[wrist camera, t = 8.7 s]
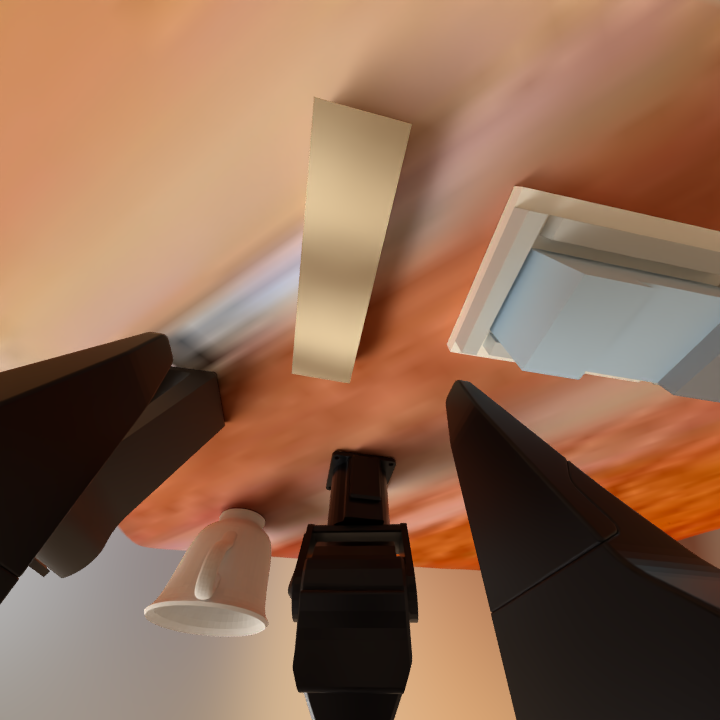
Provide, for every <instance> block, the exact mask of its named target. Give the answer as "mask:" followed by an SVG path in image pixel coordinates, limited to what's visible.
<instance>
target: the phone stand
mask: <svg viewBox="0 0 720 720" xmlns="http://www.w3.org/2000/svg"><path fill="white" fill-rule="evenodd" d="M224 426H225V422H224V416H223V411H222V405H221V399H220V393H219V387H218V382H217V376H216V373H215V372H209V371H201V370H194V369H186V368H179V367H172V366H171V367H170V368H169V370H168V372H167V374H166V375H165V377H164V379H163V381H162V382H161V384H160V386H159V387H158V389H157V391H156V393H155V394H154V396H153V398H152V399H151V401H150V403H149V404H148V406H147V407H146V409H145V410H144V411H143V413H142V414H141V416H140V417H139V418H138V420H137V421H136V422H135V424H134V425H133V426H132V428H131V429H130V430H129V432H128V433H127V434H126V436H125V437H124V438H123V440H122V441H121V442H120V444H119V445H118V446H117V448H116V449H115V450H114V452H113V453H112V455H111V456H110V457H109V459H108V460H107V461H106V463H105V464H104V465H103V467H102V468H101V469H100V471H99V472H98V473H97V475H96V476H95V477H94V479H93V480H92V481H91V483H90V484H89V485H88V487H87V488H86V489H85V491H84V492H83V493H82V495H81V496H80V497H79V499H78V500H77V502H76V503H75V504H74V506H73V507H72V508H71V510H70V511H69V512H68V514H67V515H66V516H65V518H64V519H63V520H62V522H61V523H60V524H59V526H58V527H57V528H56V530H55V531H54V532H53V534H52V535H51V536H50V538H49V539H48V540H47V542H46V543H45V544H44V546H43V547H42V549H41V550H40V551H39V553H38V554H37V555H36V557H35V558H34V559H33V561H32V562H31V563H30V565H29V567H31V568H32V569H34V570H35V571H36V572H38V573H39V574H40V575H42V576H43V577H44V576H45V575H46V574H48V572H50V571H49V570H48V569H47V567H48V568H49V569H51V570H52V571H53V572H54V573H56V574H57V575H58V576H60V577H61V578H64V577H67V576H70V575H72V574H74V573H76V572H78V571H80V570H81V569H83V568H84V567H86V566H87V565H88V564H89V563H91V562H92V561H93V560H94V559H95V558H96V557H97V556H98V555H99V553H100V552H101V551H102V549H103V548H104V546H105V544H106V542H107V540H108V539H109V537H110V535H111V534H112V532H113V531H114V530H115V528H116V527H117V526H118V525H119V523H120V522H121V521H122V520H123V519H124V518H125V517H126V516H127V515H128V514H129V513H130V512H131V511H133V510H134V509H135V508H136V507H137V506H138V505H139V504H140V503H141V502H142V501H143V500H145V499H146V498H147V497H148V496H149V495H150V494H151V493H152V492H153V491H154V490H155V489H157V488H158V487H159V486H160V485H161V484H162V483H163V482H164V481H165V480H166V479H167V478H169V477H170V476H171V475H172V474H173V473H174V472H175V471H176V470H177V469H178V468H179V467H181V466H182V465H183V464H184V463H185V462H186V461H187V460H188V459H189V458H190V457H191V456H193V455H194V454H195V453H196V452H197V451H198V450H199V449H200V448H201V447H202V446H203V445H205V444H206V443H207V442H208V441H209V440H210V439H211V438H212V437H213V436H214V435H215V434H217V433H218V432H219V431H220V430H221V429H222V428H223V427H224ZM46 566H47V567H46Z"/></svg>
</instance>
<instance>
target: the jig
mask: <svg viewBox="0 0 720 720" xmlns="http://www.w3.org/2000/svg"><path fill="white" fill-rule="evenodd" d="M531 248H536V249H541V250H546V251H551V252H556V253H560V254H565V255H570V256H575V257H580V258H585V259H589V260H594V261H599V262H604V263H609V264H614V265H618V266H623V267H628V268H633V269H638V270H643V271H647V272H652V273H657V274H662V275H667V276H672V277H676V278H681V279H686V280H691V281H696V282H701V283H705V284H710V285H714V286H717V287H720V231H716V230H711V229H707V228H702V227H698V226H694V225H689V224H685V223H680V222H676V221H672V220H667V219H663V218H658V217H654V216H650V215H645V214H641V213H636V212H632V211H627V210H623V209H619V208H614V207H610V206H605V205H601V204H597V203H592V202H588V201H583V200H579V199H574V198H570V197H566V196H561V195H557V194H552V193H548V192H544V191H539V190H535V189H530V188H526V187H519V186H514V188H513V190H512V192H511V195H510V197H509V199H508V202H507V204H506V207H505V209H504V211H503V214H502V216H501V218H500V221H499V223H498V225H497V228H496V230H495V232H494V235H493V237H492V239H491V242H490V244H489V246H488V249H487V251H486V254H485V256H484V258H483V261H482V263H481V265H480V268H479V270H478V272H477V275H476V277H475V279H474V282H473V284H472V286H471V289H470V291H469V293H468V296H467V298H466V301H465V303H464V305H463V308H462V310H461V312H460V315H459V317H458V319H457V322H456V324H455V326H454V329H453V331H452V333H451V336H450V338H449V340H448V343H447V346H448V348H449V350H450V352H455V353H461V354H468V355H474V356H480V357H486V358H492V359H498V360H504V361H511V362H515V361H514V360H513V358H512V357H511V356H510V355H509V353H508V352H507V351H506V350H505V348H504V347H503V346H502V344H501V343H500V342H499V341H498V339H497V338H496V337H495V336H494V334H493V333H492V332H491V331H490V327H491V326H492V324H493V322H494V320H495V318H496V316H497V314H498V312H499V310H500V308H501V306H502V304H503V302H504V300H505V298H506V296H507V294H508V292H509V290H510V288H511V286H512V284H513V283H514V281H515V279H516V277H517V275H518V273H519V271H520V269H521V267H522V265H523V263H524V261H525V259H526V257H527V255H528V253H529V251H530V249H531ZM584 374H590V375H596V376H602V377H609V378H615V379H621V380H627V381H633V382H640V381H641V380H635V379H629V378H623V377H617V376H611V375H605V374H599V373H593V372H587V371H586V372H585V373H584ZM652 383H653V382H652ZM653 384H655V385H659V384H658V383H653Z"/></svg>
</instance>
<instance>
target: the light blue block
mask: <svg viewBox="0 0 720 720" xmlns="http://www.w3.org/2000/svg"><path fill="white" fill-rule="evenodd" d="M490 331H491V332H492V333H493V334H494V336H495V337H496V338H497V339H498V341H499V342H500V343H501V344H502V346H503V347H504V348H505V350H506V351H507V352H508V353H509V355H510V356H511V357H512V358H513V360H514V361H515V362H516V363H517V365H518V366H519V367H520V369H521V370H522V371H528V372H534V373H540V374H547V375H553V376H559V377H565V378H571V379H578V380H579V379H580V378H581V377H582V376H583V374H584V373H585V372H586V371H587V372H593V373H599V374H605V375H611V376H617V377H623V378H629V379H635V380H641V381H647V382H653V383H658V384H659V385H660V386H662V387H663V388H664V389H666V390H667V391H669V392H670V393H671V394H673V395H677V396H683V397H689V398H695V399H701V400H707V401H714V402H720V287H717V286H714V285H710V284H705V283H701V282H696V281H691V280H686V279H681V278H676V277H672V276H667V275H662V274H657V273H652V272H647V271H643V270H638V269H633V268H628V267H623V266H618V265H614V264H609V263H604V262H599V261H594V260H589V259H585V258H580V257H575V256H570V255H565V254H560V253H556V252H551V251H546V250H541V249H536V248H531V249H530V251H529V253H528V255H527V257H526V259H525V261H524V263H523V265H522V267H521V269H520V271H519V273H518V275H517V277H516V279H515V281H514V283H513V284H512V286H511V288H510V290H509V292H508V294H507V296H506V298H505V300H504V302H503V304H502V306H501V308H500V310H499V312H498V314H497V316H496V318H495V320H494V322H493V324H492V326H491V327H490Z"/></svg>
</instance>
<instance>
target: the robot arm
mask: <svg viewBox="0 0 720 720" xmlns="http://www.w3.org/2000/svg"><path fill="white" fill-rule="evenodd" d="M172 362H173V355H172V351H171V347H170V344H169V340H168V337H167V336H166V335H165V334H161V333H155V332H147V333H143V334H140V335H136V336H132V337H129V338H125V339H121V340H118V341H114V342H110V343H107V344H103V345H99V346H96V347H92V348H88V349H85V350H81V351H77V352H73V353H70V354H66V355H62V356H59V357H55V358H51V359H48V360H44V361H40V362H37V363H33V364H29V365H26V366H22V367H18V368H15V369H11V370H7V371H4V372H0V604H1V603H2V601H3V600H4V599H5V597H6V596H7V595H8V593H9V592H10V590H11V589H12V588H13V586H14V585H15V584H16V582H17V581H18V580H19V578H18V577H20V576H21V575H22V574H23V573H24V571H25V570H26V569H27V567H28V566H29V565H30V563H31V562H32V561H33V559H34V558H35V557H36V555H37V554H38V553H39V551H40V550H41V549H42V547H43V546H44V544H45V543H46V542H47V540H48V539H49V538H50V536H51V535H52V534H53V532H54V531H55V530H56V528H57V527H58V526H59V524H60V523H61V522H62V520H63V519H64V518H65V516H66V515H67V514H68V512H69V511H70V510H71V508H72V507H73V506H74V504H75V503H76V502H77V500H78V499H79V497H80V496H81V495H82V493H83V492H84V491H85V489H86V488H87V487H88V485H89V484H90V483H91V481H92V480H93V479H94V477H95V476H96V475H97V473H98V472H99V471H100V469H101V468H102V467H103V465H104V464H105V463H106V461H107V460H108V459H109V457H110V456H111V455H112V453H113V452H114V450H115V449H116V448H117V446H118V445H119V444H120V442H121V441H122V440H123V438H124V437H125V436H126V434H127V433H128V432H129V430H130V429H131V428H132V426H133V425H134V424H135V422H136V421H137V420H138V418H139V417H140V416H141V414H142V413H143V411H144V410H145V409H146V407H147V406H148V404H149V403H150V401H151V399H152V398H153V396H154V394H155V393H156V391H157V389H158V387H159V386H160V384H161V382H162V381H163V379H164V377H165V375H166V374H167V372H168V370H169V368H170V367H171V365H172ZM446 411H447V419H448V428H449V436H450V443H451V449H452V453H453V457H454V461H455V466H456V470H457V474H458V478H459V482H460V486H461V491H462V495H463V499H464V503H465V507H466V511H467V515H468V520H469V524H470V528H471V532H472V536H473V540H474V545H475V549H476V553H477V557H478V561H479V565H480V569H481V573H482V578H483V582H484V586H485V590H486V594H487V598H488V603H489V607H490V611H491V612H492V613H491V616H492V620H493V624H494V629H495V633H496V637H497V641H498V645H499V649H500V653H501V658H502V662H503V666H504V670H505V674H506V678H507V682H508V687H509V691H510V695H511V699H512V703H513V707H514V712H515V715H516V720H720V569H718V568H717V567H715V566H713V565H711V564H710V563H708V562H706V561H705V560H703V559H701V558H700V557H698V556H697V555H695V554H694V553H693V552H691V551H690V550H688V549H687V548H685V547H684V546H683V545H681V544H680V543H679V542H677V541H676V540H674V539H673V538H672V537H670V536H669V535H667V534H666V533H665V532H663V531H662V530H661V529H659V528H658V527H656V526H655V525H654V524H652V523H651V522H650V521H648V520H647V519H645V518H644V517H643V516H641V515H640V514H638V513H637V512H636V511H634V510H633V509H632V508H630V507H629V506H627V505H626V504H625V503H623V502H622V501H621V500H619V499H618V498H617V497H615V496H614V495H612V494H611V493H610V492H608V491H607V490H606V489H604V488H603V487H602V486H600V485H599V484H598V483H597V482H595V481H594V480H593V479H591V478H590V477H589V476H588V475H586V474H585V473H584V472H582V471H581V470H580V469H579V468H577V467H576V466H575V465H574V464H572V463H571V462H570V461H567V460H566V458H565V457H563V456H562V455H561V454H560V453H558V452H557V451H556V450H555V449H553V448H552V447H551V446H550V445H548V444H547V443H546V442H545V441H543V440H542V439H541V438H540V437H538V436H537V435H536V434H535V433H533V432H532V431H531V430H529V429H528V428H527V427H526V426H524V425H523V424H522V423H521V422H519V421H518V420H517V419H516V418H514V417H513V416H512V415H511V414H509V413H508V412H507V411H506V410H504V409H503V408H502V407H501V406H499V405H498V404H497V403H496V402H494V401H493V400H492V399H491V398H489V397H488V396H487V395H486V394H484V393H483V392H482V391H480V390H479V389H478V388H477V387H475V386H474V385H473V384H472V383H470V382H468V381H462V380H457V381H455V383H454V384H453V386H452V388H451V390H450V392H449V395H448V397H447V399H446ZM395 466H396V461H395V459H394V458H387V457H379V456H371V455H363V454H355V453H347V452H339V451H336V452H333V454H332V458H331V464H330V469H329V474H328V479H327V484H326V489H327V490H331V495H330V504H329V514H328V523H327V525H315V524H308V527H307V531H306V533H305V534H304V537H303V541H302V545H301V549H300V552H299V556H298V561H297V564H296V568H295V571H294V573H293V576H292V579H291V581H290V584H289V587H288V594H289V596H290V598H291V599H292V618H293V621H294V622H297V632H296V644H295V653H294V660H293V672H294V677H295V682H296V686H297V690H298V692H300V693H301V692H303V693H304V694H305V698H306V701H307V705H308V708H309V711H310V715H311V718H312V720H394V718H395V714H396V711H397V708H398V705H399V702H400V699H401V696H402V694H403V693H404V691H405V687H406V683H407V680H408V676H409V672H410V668H411V664H412V650H411V637H410V623H417V622H418V602H417V590H416V582H415V574H414V567H413V561H412V555H411V548H410V542H409V536H408V530H407V524H406V523H400V524H390V520H389V507H388V493H387V484H388V482H389V480H390V477H391V475H392V473H393V470H394V468H395ZM396 554H399V555H400V556H396Z"/></svg>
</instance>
